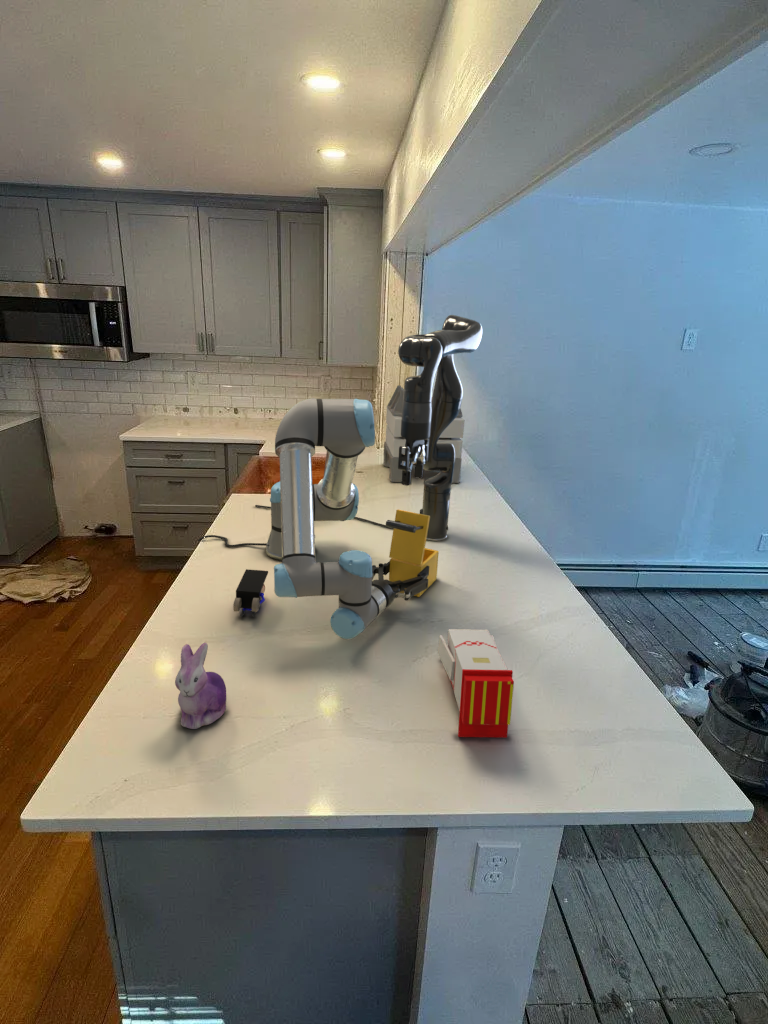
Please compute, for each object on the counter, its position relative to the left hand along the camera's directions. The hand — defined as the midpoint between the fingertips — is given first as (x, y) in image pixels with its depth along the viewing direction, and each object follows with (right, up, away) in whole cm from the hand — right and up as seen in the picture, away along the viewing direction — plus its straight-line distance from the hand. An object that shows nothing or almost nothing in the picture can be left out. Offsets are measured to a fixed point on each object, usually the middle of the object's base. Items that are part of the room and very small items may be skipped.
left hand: (411, 566), depth 160 cm
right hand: (0, +23, -11) cm, 26 cm away
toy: (+10, -22, -41) cm, 48 cm away
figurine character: (-42, -9, -12) cm, 45 cm away
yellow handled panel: (-1, +9, -5) cm, 10 cm away
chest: (+1, -6, +4) cm, 7 cm away
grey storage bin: (+10, +34, +115) cm, 120 cm away
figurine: (-42, -24, -51) cm, 71 cm away
